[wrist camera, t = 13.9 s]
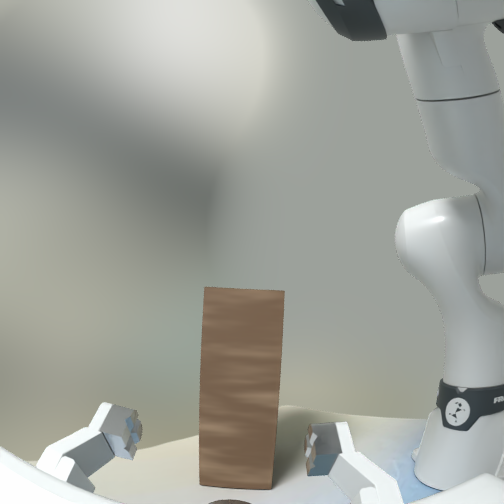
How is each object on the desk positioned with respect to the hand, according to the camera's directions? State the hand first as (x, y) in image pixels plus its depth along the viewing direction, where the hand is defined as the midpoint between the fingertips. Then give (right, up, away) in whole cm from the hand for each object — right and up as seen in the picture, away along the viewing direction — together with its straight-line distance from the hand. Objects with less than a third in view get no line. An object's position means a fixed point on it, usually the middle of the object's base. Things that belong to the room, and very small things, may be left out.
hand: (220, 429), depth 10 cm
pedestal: (-1, -24, +24) cm, 34 cm away
